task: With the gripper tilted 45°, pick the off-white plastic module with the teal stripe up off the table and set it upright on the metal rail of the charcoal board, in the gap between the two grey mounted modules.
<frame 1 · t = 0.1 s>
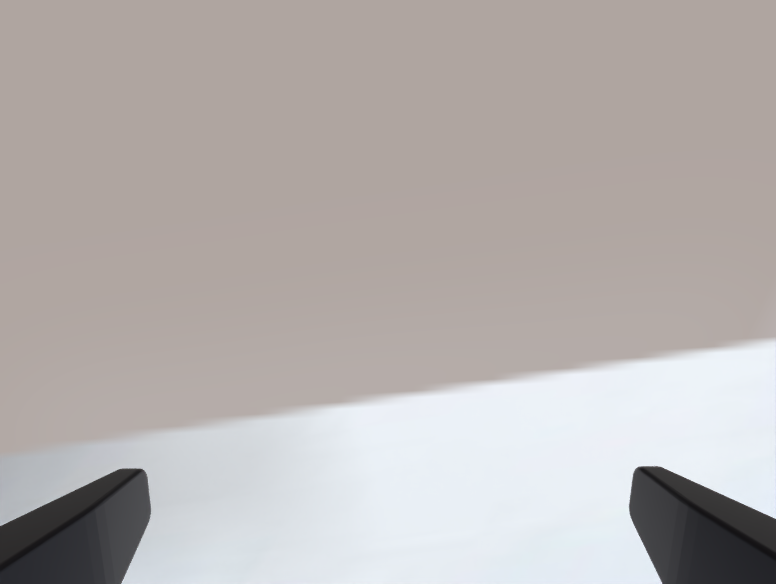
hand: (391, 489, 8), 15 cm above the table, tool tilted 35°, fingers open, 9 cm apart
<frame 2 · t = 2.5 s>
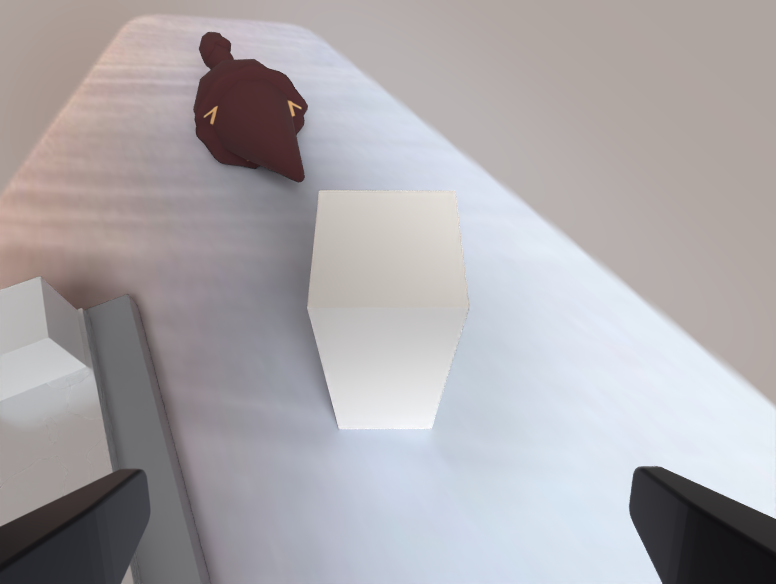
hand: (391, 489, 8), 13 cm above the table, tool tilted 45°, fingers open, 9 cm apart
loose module: (385, 385, 24), on the table
brown toy animal: (262, 158, 33), on the table
rail board: (75, 509, 20), on the table
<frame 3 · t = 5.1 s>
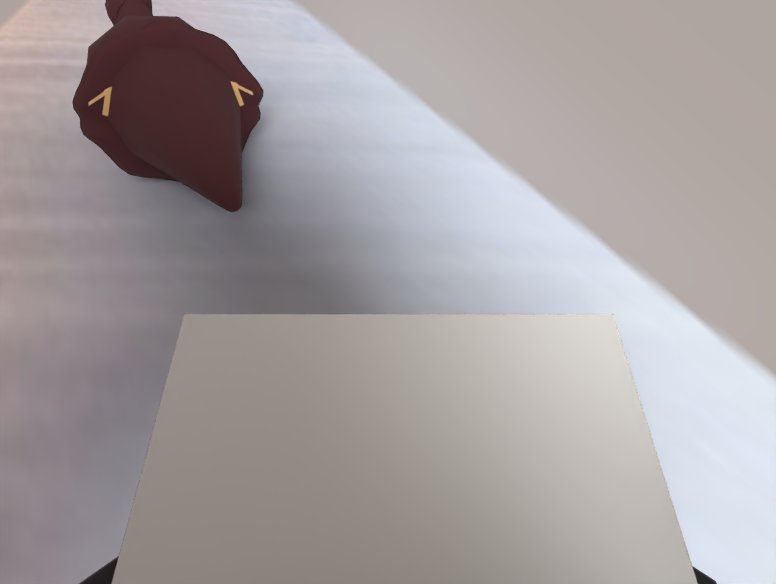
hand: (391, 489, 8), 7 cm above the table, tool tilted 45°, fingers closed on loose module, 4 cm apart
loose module: (387, 583, 13), on the table, touching gripper
brown toy animal: (201, 166, 23), on the table
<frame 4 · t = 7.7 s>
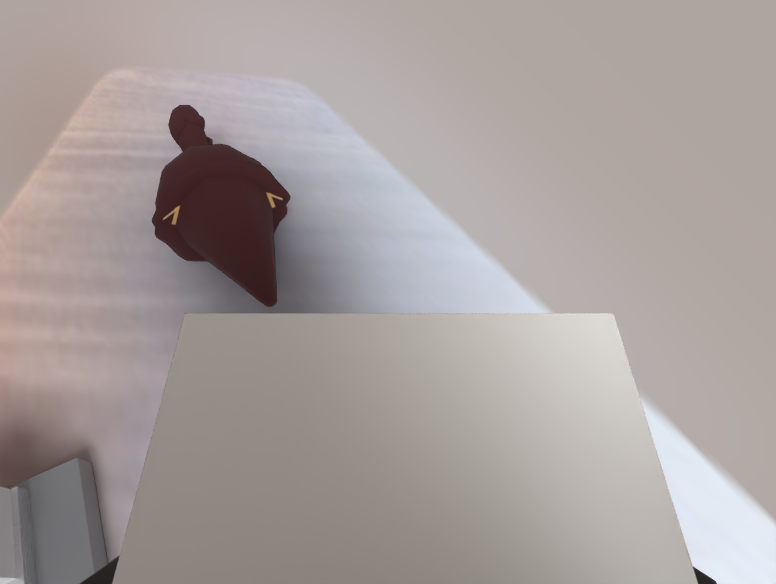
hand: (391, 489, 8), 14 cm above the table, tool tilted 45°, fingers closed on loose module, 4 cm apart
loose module: (387, 582, 13), point 7 cm above the table, touching gripper
brown toy animal: (239, 247, 29), on the table
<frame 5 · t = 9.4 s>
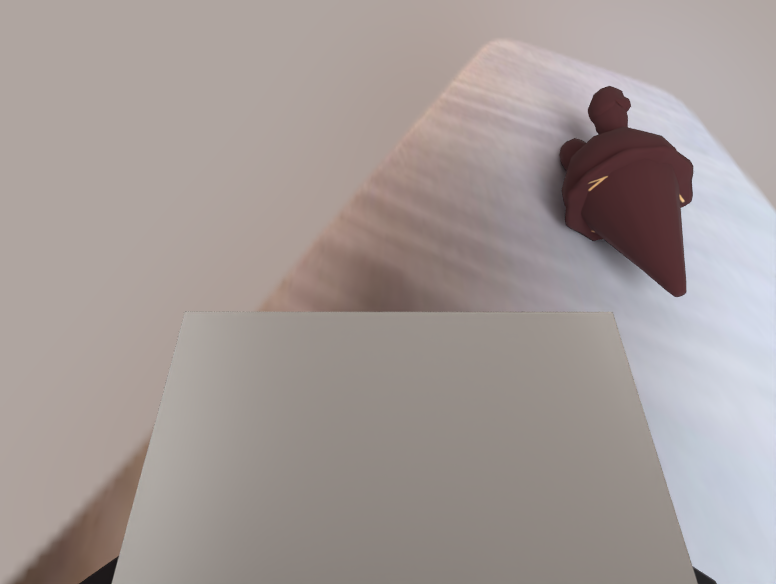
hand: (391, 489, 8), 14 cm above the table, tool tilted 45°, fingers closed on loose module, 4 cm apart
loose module: (387, 582, 13), point 7 cm above the table, touching gripper
brown toy animal: (600, 230, 30), on the table
when the fingers open (10 cm above the table, at t = 10.5 s): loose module drops 1 cm, resting on rail board.
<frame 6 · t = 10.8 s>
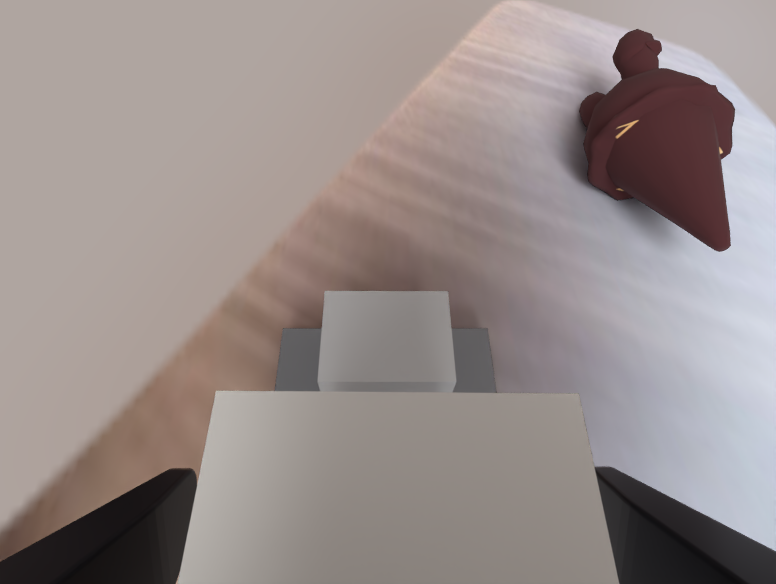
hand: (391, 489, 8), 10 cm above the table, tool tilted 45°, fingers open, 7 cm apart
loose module: (386, 580, 14), point 2 cm above the table, touching rail board
brown toy animal: (625, 190, 27), on the table
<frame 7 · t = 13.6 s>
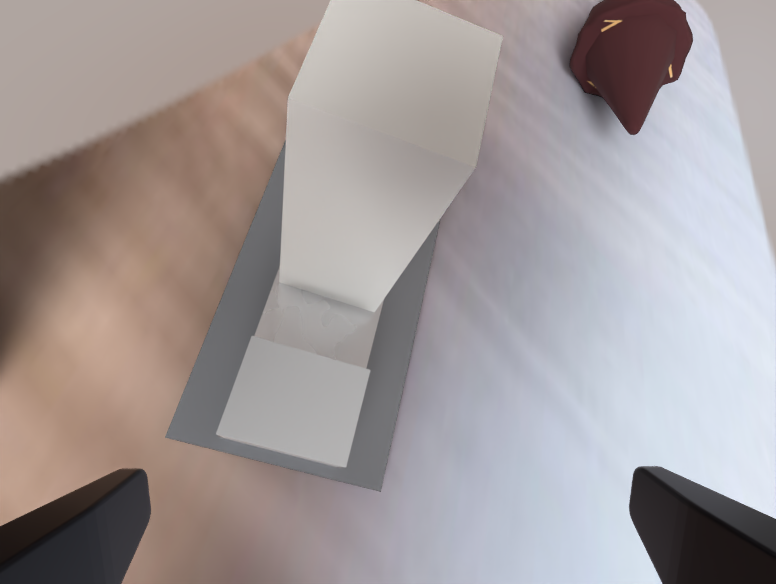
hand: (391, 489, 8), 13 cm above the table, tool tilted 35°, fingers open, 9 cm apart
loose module: (341, 254, 22), point 2 cm above the table, touching rail board
brown toy animal: (595, 88, 33), on the table
rail board: (335, 272, 24), on the table
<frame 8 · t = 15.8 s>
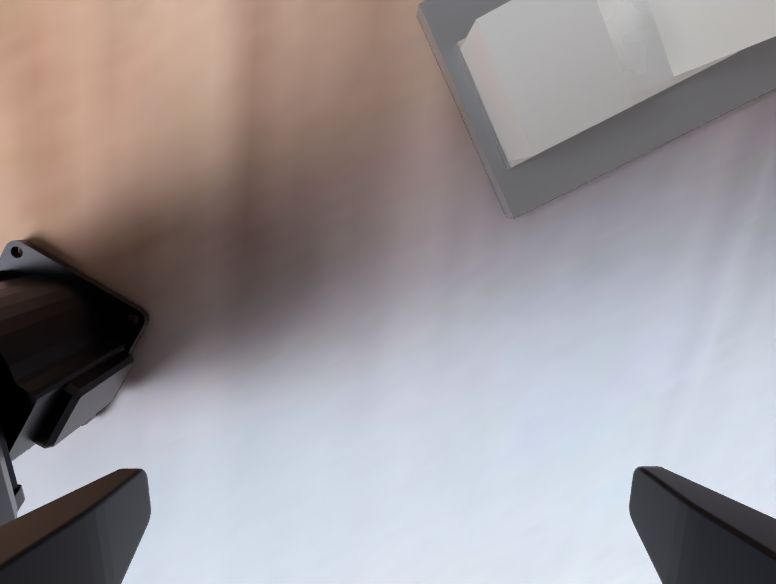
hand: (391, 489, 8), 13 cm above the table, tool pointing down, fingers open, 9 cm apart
rail board: (675, 10, 19), on the table
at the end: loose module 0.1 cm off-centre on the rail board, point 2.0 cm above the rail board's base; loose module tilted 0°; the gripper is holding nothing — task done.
